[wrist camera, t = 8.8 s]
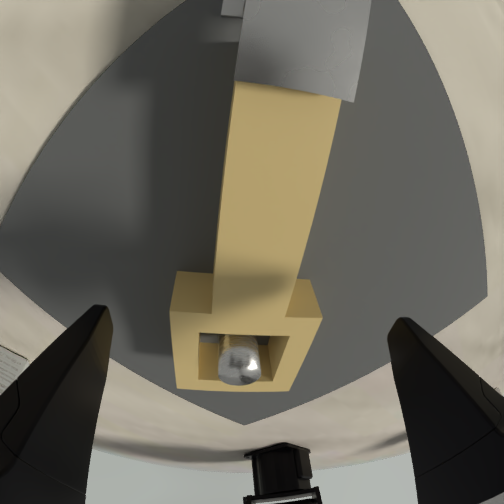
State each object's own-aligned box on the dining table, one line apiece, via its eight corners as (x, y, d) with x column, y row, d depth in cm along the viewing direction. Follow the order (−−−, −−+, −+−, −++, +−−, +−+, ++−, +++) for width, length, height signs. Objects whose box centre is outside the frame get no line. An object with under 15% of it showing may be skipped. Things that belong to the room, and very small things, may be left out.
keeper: (234, -53, 6) (237, -99, 3) (352, -28, 6) (400, -56, 3) (212, 77, 9) (203, 78, 6) (332, 95, 10) (377, 109, 7)
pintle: (234, 338, 17) (236, 389, 14) (210, 321, 16) (209, 374, 13) (262, 323, 16) (269, 375, 13) (239, 304, 15) (243, 358, 12)
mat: (243, 422, 25) (244, 425, 24) (-11, 255, 12) (-13, 258, 12) (485, 293, 17) (487, 296, 17) (335, -71, 5) (337, -74, 5)
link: (282, 356, 18) (288, 391, 16) (180, 352, 17) (176, 388, 15) (364, 69, 9) (399, 71, 7) (191, 38, 8) (179, 27, 6)
